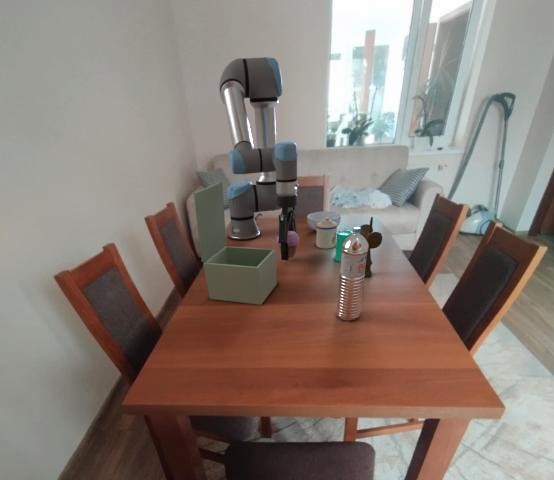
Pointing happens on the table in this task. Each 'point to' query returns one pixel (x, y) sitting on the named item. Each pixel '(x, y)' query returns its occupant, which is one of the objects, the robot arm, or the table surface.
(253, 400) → the table surface
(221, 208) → the green box lid
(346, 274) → the water bottle
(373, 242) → the kendama
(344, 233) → the candle
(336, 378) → the table surface
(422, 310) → the table surface
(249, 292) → the chest
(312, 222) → the cereal bowl
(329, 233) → the teacup with lid
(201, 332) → the table surface
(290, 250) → the cupcake
